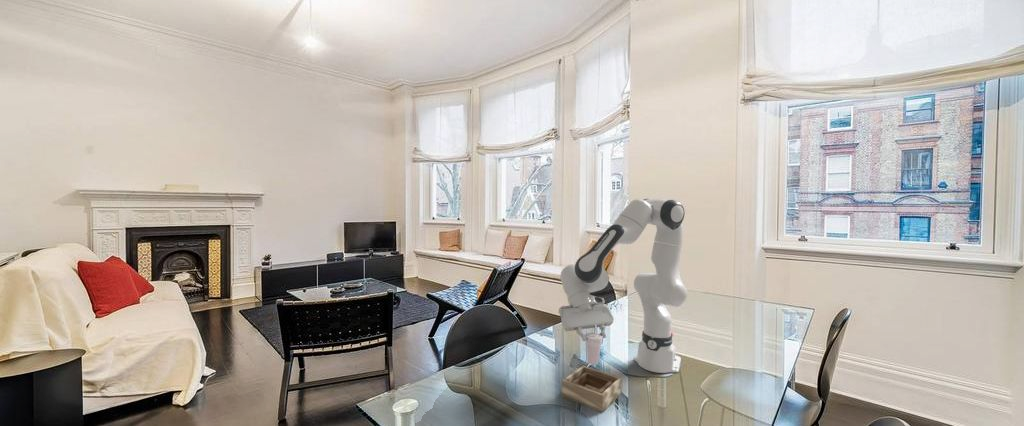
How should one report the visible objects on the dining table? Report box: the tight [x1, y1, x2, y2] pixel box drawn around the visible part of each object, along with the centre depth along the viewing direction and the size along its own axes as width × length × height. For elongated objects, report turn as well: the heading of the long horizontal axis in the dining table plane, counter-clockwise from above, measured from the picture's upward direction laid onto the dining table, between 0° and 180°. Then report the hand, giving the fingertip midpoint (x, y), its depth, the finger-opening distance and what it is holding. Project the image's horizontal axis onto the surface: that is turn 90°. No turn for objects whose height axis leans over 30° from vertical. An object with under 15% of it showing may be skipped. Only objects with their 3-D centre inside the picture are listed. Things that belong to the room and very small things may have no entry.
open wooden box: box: [561, 365, 623, 413], centre depth 146 cm, size 16×16×6 cm
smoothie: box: [585, 324, 604, 365], centre depth 145 cm, size 6×6×14 cm
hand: (594, 338), depth 144 cm, fingers closed on smoothie, 6 cm apart
